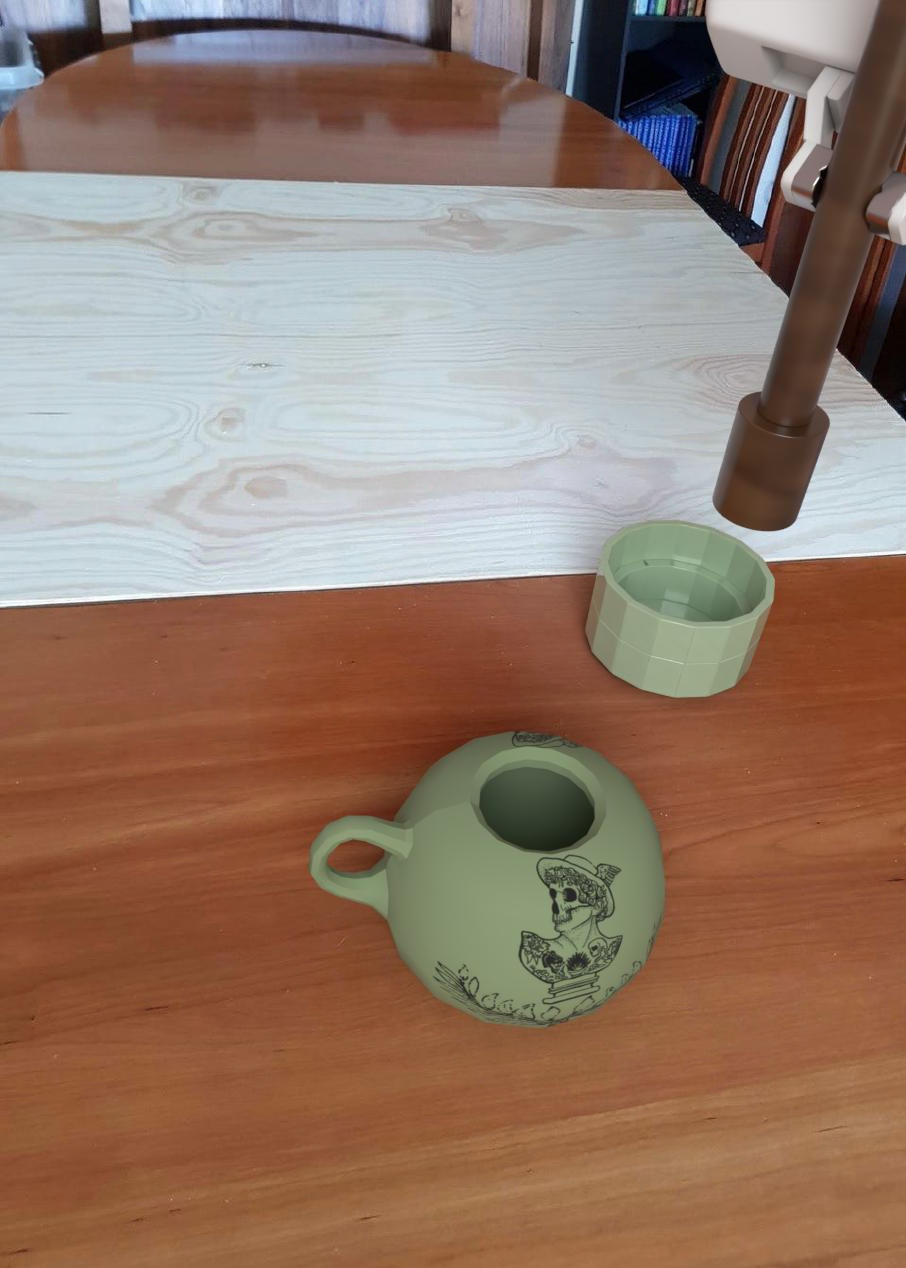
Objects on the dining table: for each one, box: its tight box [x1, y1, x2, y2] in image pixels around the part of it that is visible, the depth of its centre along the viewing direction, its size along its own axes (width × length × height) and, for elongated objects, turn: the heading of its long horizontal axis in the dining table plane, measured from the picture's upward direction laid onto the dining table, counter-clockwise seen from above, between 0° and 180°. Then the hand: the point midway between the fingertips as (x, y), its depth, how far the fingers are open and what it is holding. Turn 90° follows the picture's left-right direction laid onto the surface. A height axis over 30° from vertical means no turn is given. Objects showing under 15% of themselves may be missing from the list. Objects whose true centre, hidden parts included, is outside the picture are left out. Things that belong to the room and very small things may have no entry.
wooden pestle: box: [711, 0, 906, 532], centre depth 42 cm, size 4×4×24 cm
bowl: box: [584, 519, 776, 699], centre depth 63 cm, size 10×10×6 cm
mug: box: [307, 730, 667, 1030], centre depth 47 cm, size 16×13×9 cm
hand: (839, 214), depth 40 cm, fingers closed on wooden pestle, 2 cm apart
